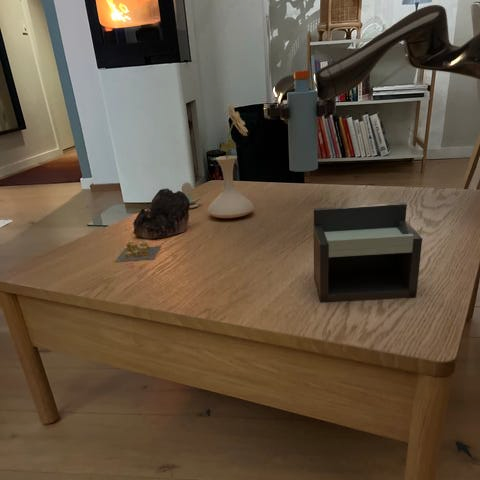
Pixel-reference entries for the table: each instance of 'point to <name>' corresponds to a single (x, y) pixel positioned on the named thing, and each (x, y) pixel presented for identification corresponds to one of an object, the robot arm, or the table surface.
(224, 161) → the flower in vase
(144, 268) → the table surface
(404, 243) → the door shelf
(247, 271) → the table surface
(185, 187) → the pacifier
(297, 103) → the plastic bottle
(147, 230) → the dark brown rock
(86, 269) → the table surface
